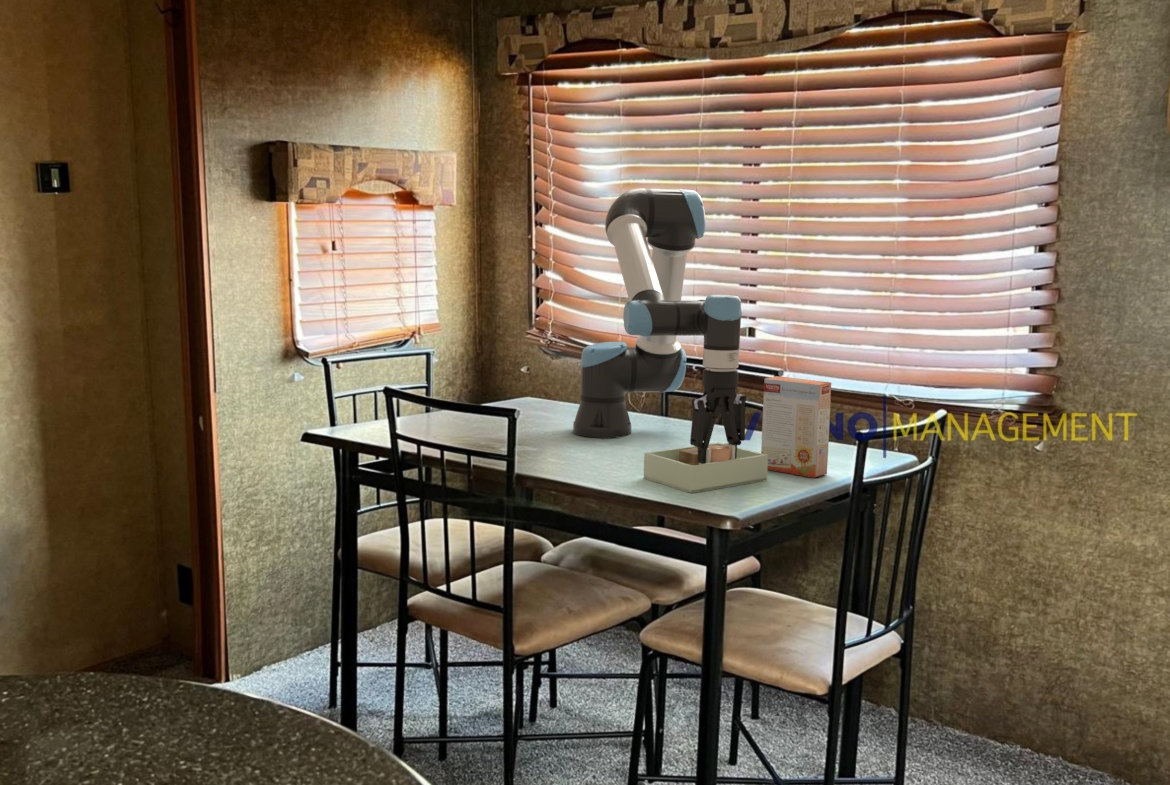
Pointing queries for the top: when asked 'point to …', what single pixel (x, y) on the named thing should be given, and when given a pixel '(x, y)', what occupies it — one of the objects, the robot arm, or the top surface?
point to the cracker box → (796, 425)
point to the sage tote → (704, 470)
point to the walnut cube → (689, 456)
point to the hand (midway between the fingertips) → (716, 475)
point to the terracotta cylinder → (719, 453)
